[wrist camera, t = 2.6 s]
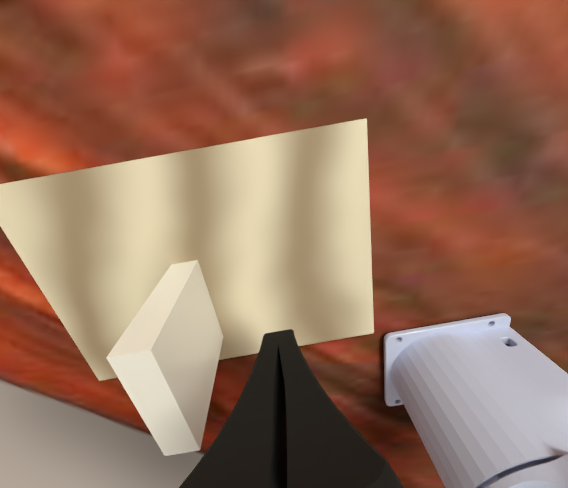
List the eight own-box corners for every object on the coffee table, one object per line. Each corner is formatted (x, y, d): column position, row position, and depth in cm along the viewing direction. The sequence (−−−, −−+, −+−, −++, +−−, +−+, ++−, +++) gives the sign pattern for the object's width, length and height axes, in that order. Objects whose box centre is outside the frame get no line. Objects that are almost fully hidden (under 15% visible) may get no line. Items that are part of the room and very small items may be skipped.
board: (360, 119, 14) (366, 118, 13) (368, 323, 20) (373, 333, 19) (-5, 185, 14) (-24, 189, 13) (107, 369, 20) (99, 380, 19)
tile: (197, 259, 16) (150, 349, 9) (223, 336, 18) (200, 450, 12) (171, 264, 16) (105, 357, 9) (200, 340, 18) (164, 456, 12)
